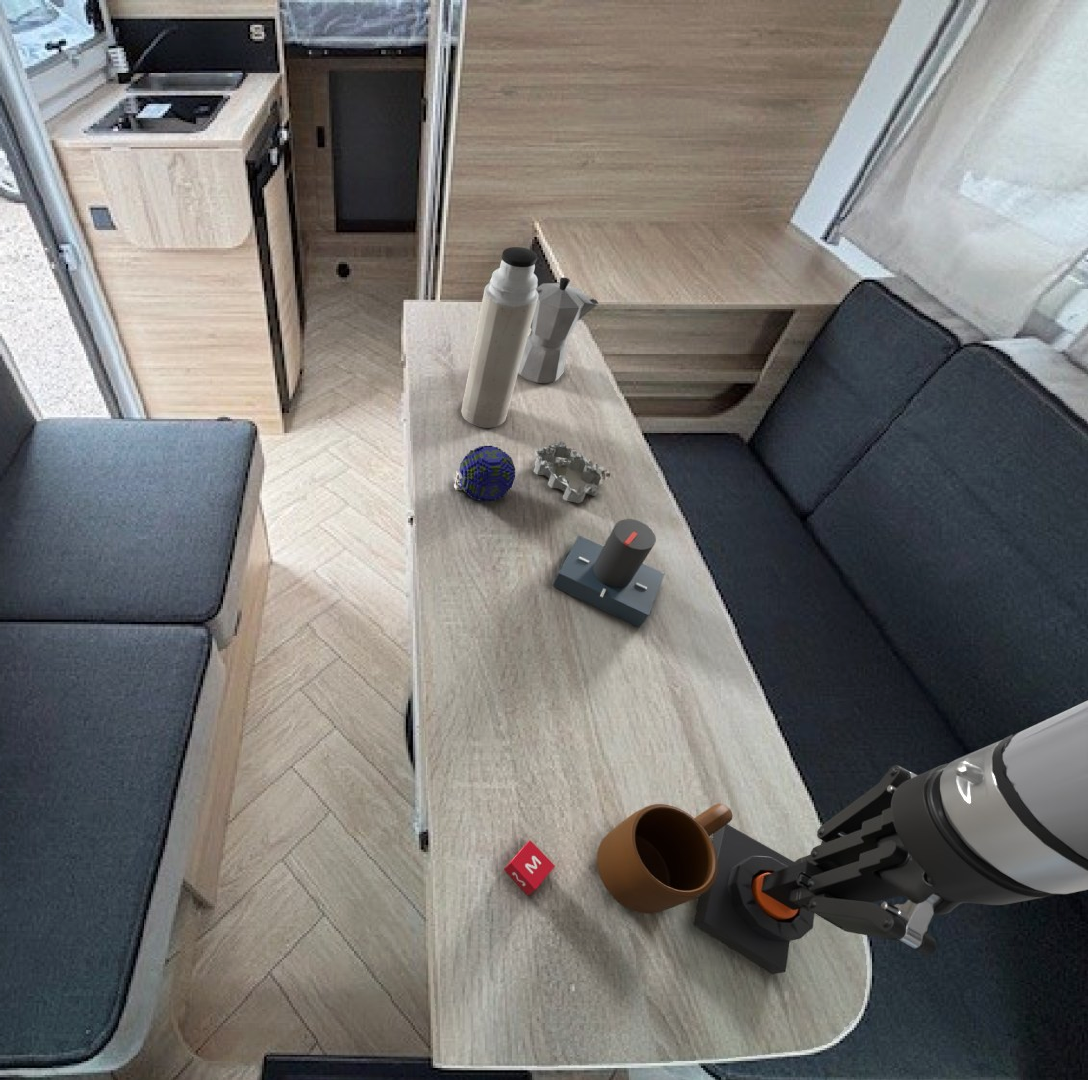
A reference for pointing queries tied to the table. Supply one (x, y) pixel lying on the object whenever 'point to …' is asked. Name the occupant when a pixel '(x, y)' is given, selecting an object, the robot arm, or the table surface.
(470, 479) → the ball
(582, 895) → the table surface
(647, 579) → the dial panel
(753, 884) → the round orange button
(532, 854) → the dice
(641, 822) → the mug
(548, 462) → the grey jagged hollow block
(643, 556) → the temp dial
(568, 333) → the coffeepot
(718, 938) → the push button switch
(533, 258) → the thermos bottle
